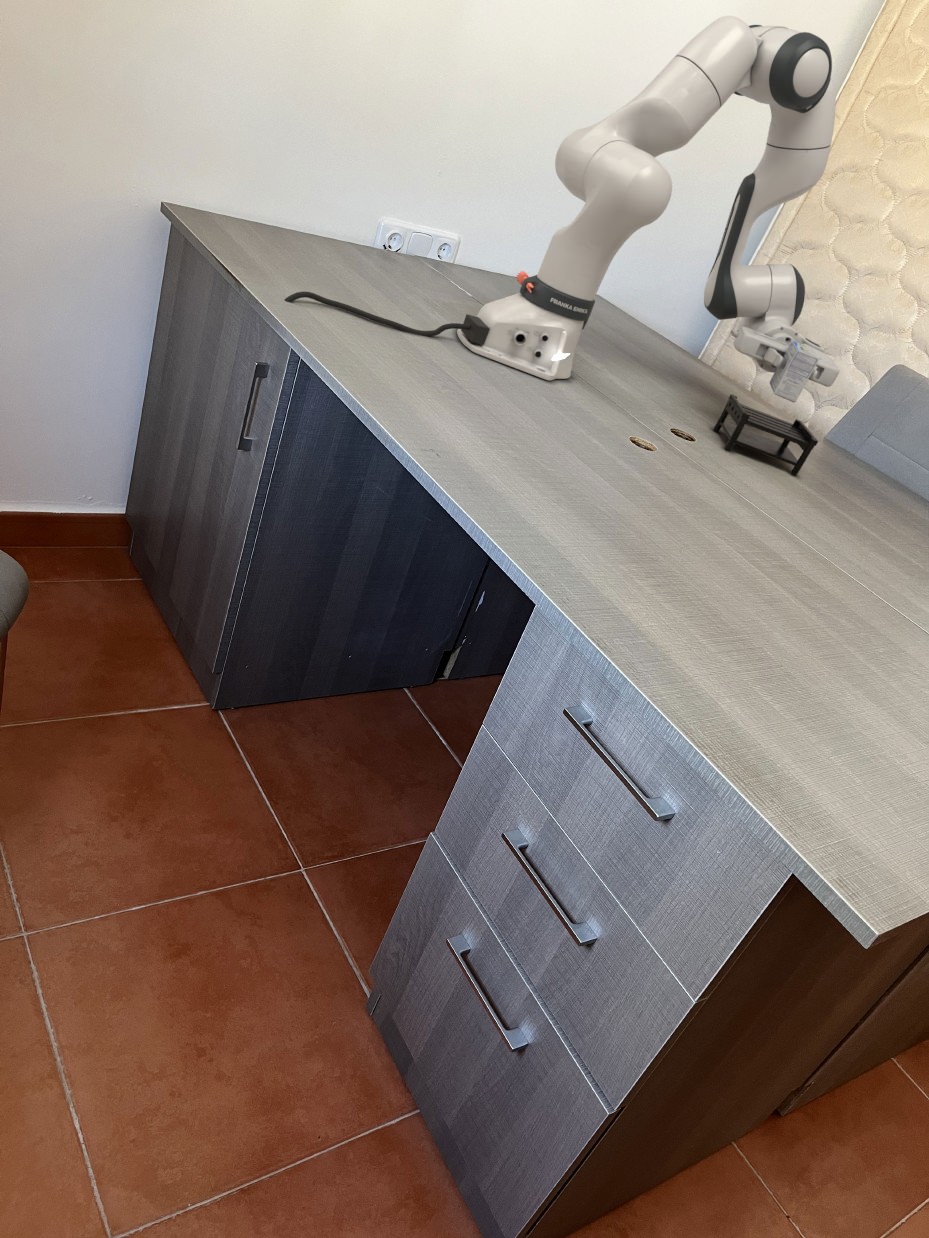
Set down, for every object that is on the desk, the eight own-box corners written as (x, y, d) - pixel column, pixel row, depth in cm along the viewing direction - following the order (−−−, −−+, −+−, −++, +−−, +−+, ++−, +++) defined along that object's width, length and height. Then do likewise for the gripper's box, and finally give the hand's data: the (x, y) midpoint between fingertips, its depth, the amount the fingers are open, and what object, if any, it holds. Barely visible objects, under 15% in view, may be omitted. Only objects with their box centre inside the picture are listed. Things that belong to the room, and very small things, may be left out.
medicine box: (795, 403, 168) (820, 358, 163) (772, 394, 168) (797, 349, 163) (789, 392, 175) (814, 349, 170) (768, 383, 175) (792, 339, 170)
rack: (724, 449, 170) (744, 413, 167) (711, 428, 180) (730, 393, 176) (797, 477, 173) (819, 442, 169) (781, 455, 182) (801, 421, 179)
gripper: (736, 312, 176) (754, 332, 165) (830, 350, 180) (855, 372, 168) (720, 344, 179) (737, 365, 168) (813, 380, 183) (836, 404, 171)
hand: (797, 369), depth 168 cm, fingers closed on medicine box, 5 cm apart
